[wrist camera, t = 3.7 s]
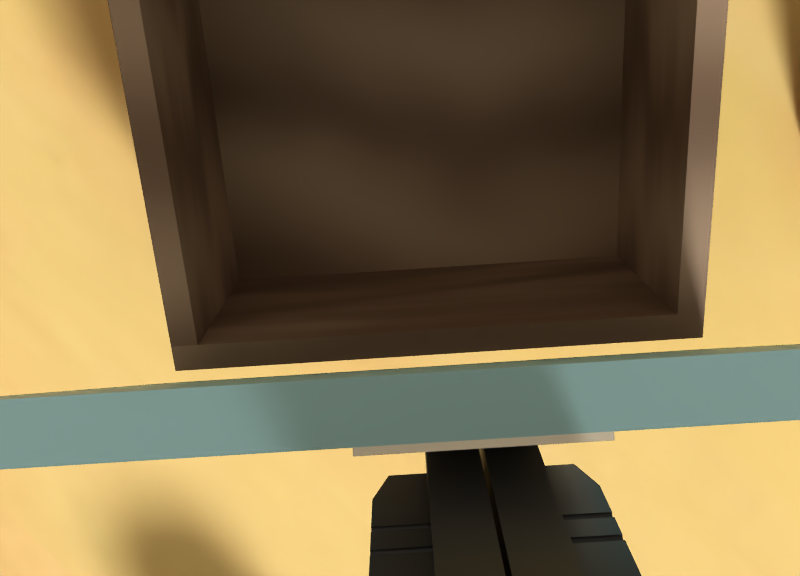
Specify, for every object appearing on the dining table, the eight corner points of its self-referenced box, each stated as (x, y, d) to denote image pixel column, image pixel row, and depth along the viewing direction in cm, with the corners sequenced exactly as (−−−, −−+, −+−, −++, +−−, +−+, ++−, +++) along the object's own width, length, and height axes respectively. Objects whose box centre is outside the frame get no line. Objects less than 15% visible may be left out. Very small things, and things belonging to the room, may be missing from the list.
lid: (-219, 413, 8) (-222, 491, 8) (1192, 324, 8) (1207, 403, 8) (168, 383, 22) (170, 413, 22) (711, 348, 22) (714, 378, 22)
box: (169, -74, 24) (86, -118, 18) (645, -109, 24) (740, -165, 18) (225, 294, 29) (175, 371, 22) (630, 268, 28) (702, 337, 22)
